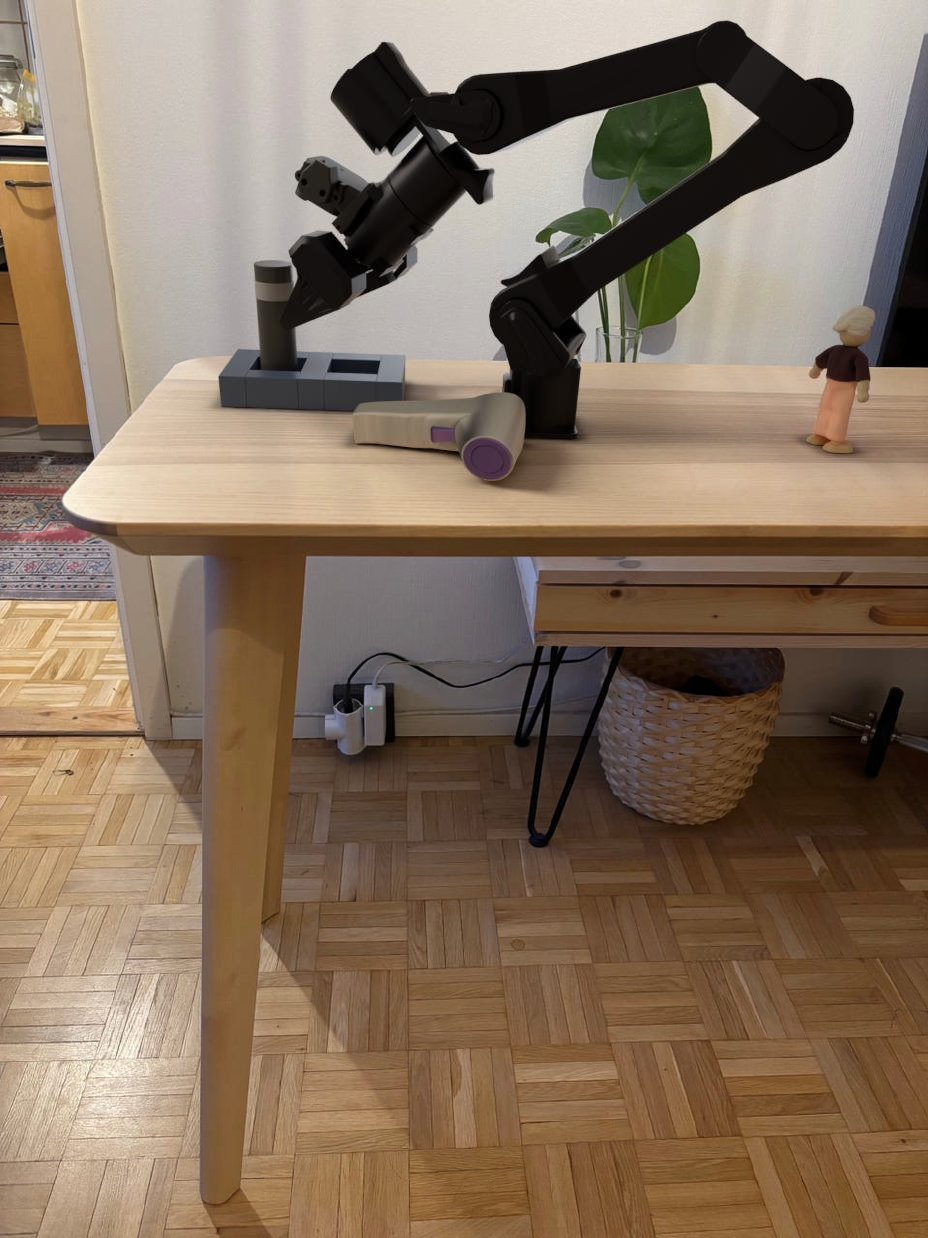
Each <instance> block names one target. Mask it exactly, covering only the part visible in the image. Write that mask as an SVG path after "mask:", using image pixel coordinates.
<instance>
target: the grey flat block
mask: <svg viewBox="0 0 928 1238" xmlns="http://www.w3.org/2000/svg"><path fill="white" fill-rule="evenodd" d="M235 351H236V352H235V353H234V354H233V355H232V356H231V358H230V359H229V361H228V362H227V363H226V365H225V366H224V368H223V369H222V370H221V372H220V373H219V374H218V388H219V398H220V406H221V407H222V408H256V409H257V408H258V409H284V410H285V409H287V410H309V411H310V410H311V411H312V410H317V411H341V412H342V411H343V412H354V410H355V409H356V407H357V406H358V404H361V403H368V402H382V401H404V398H405V389H406V355H405V354H384V353H360V352H359V353H357V352H330V351H329V352H328V351H327V352H326V351H300V350H297V366H298V372H295V371H267V370H261V360H260V349H247V348H245V349H244V348H238V349H236V350H235Z"/></svg>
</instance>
